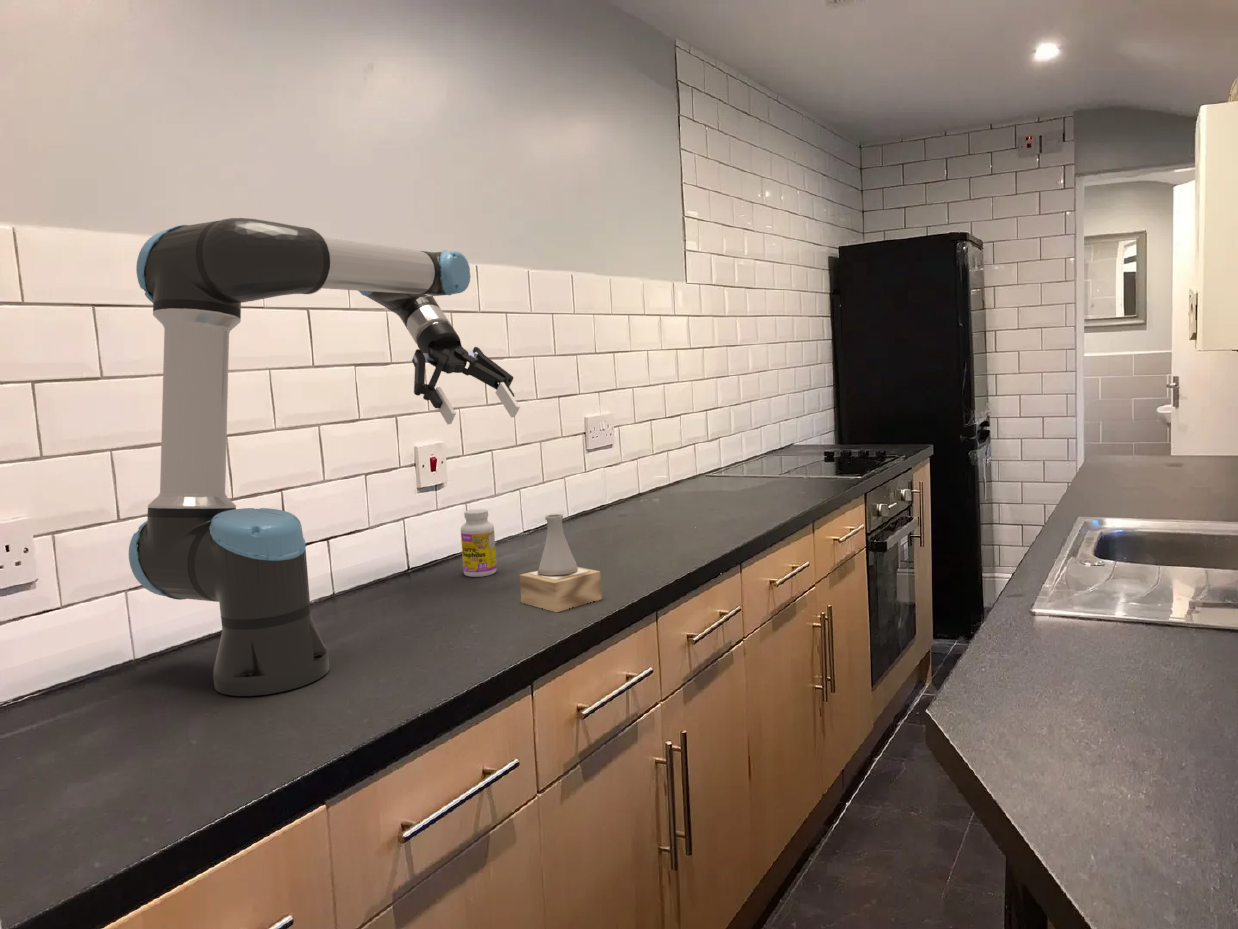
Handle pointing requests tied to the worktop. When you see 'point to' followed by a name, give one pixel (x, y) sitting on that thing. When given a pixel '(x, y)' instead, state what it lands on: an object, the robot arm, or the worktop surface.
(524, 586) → the oak plinth
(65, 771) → the worktop surface
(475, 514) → the supplement bottle
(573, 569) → the flask
